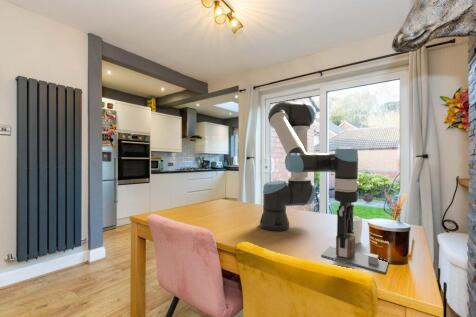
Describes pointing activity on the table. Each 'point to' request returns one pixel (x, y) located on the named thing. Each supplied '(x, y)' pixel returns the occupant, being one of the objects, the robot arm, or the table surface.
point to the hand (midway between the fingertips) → (345, 253)
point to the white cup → (357, 228)
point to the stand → (359, 260)
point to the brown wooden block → (349, 247)
